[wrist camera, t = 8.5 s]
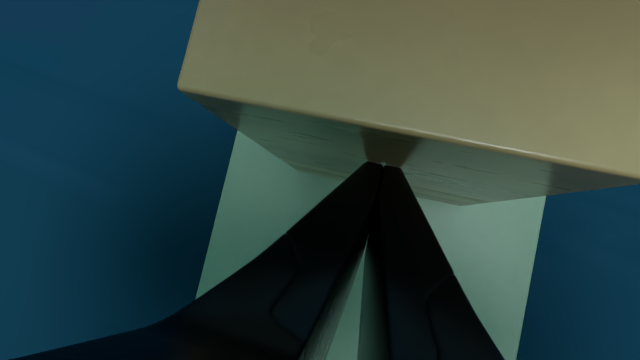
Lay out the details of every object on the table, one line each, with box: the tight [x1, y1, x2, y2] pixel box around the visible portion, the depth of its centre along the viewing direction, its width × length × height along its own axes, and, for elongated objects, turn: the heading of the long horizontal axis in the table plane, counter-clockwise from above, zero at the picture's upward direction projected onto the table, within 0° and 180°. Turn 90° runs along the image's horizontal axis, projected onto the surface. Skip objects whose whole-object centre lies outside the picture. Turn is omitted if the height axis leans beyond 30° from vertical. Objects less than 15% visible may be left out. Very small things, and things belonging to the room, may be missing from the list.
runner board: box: [196, 130, 546, 360], centre depth 15 cm, size 14×13×1 cm
